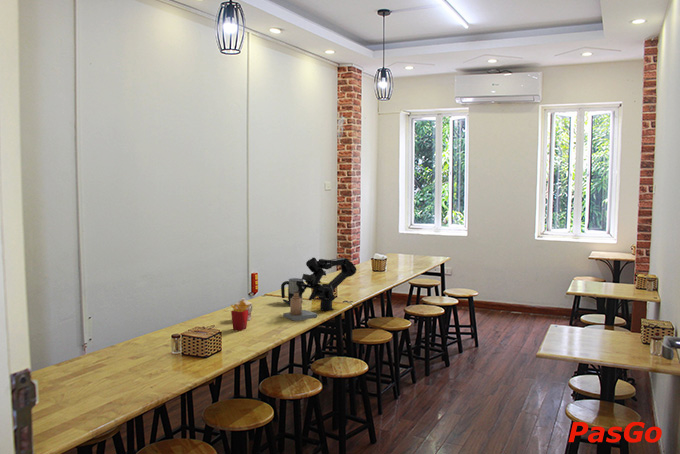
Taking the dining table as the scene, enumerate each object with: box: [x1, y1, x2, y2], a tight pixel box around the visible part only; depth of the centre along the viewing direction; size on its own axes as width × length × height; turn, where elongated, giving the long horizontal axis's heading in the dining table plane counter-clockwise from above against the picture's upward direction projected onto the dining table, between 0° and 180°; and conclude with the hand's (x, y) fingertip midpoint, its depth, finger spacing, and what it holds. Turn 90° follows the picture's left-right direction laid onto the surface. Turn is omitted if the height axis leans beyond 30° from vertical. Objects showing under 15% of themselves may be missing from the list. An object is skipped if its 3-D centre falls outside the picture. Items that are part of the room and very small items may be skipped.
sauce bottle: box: [289, 291, 303, 316], centre depth 307 cm, size 6×6×13 cm
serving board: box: [282, 309, 318, 322], centre depth 310 cm, size 15×12×2 cm
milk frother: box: [280, 277, 304, 306], centre depth 344 cm, size 14×16×15 cm
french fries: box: [230, 301, 250, 332], centre depth 282 cm, size 9×8×15 cm
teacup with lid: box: [235, 297, 253, 322], centre depth 303 cm, size 12×9×12 cm
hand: (303, 298), depth 312 cm, fingers open, 9 cm apart
